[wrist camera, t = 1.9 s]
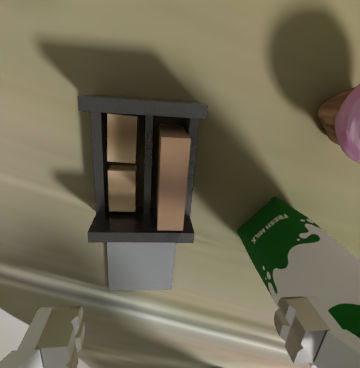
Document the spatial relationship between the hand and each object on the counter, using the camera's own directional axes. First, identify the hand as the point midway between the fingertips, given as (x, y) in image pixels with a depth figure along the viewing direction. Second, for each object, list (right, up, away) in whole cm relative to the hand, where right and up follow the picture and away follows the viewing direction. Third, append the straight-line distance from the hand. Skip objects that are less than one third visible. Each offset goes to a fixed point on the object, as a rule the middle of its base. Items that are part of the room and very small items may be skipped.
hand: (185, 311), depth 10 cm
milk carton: (+13, -1, +24) cm, 28 cm away
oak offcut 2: (-7, +5, +20) cm, 22 cm away
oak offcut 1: (-7, +11, +18) cm, 22 cm away
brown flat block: (-2, +8, +19) cm, 21 cm away
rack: (-4, +8, +19) cm, 21 cm away
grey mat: (-6, -5, +24) cm, 25 cm away
